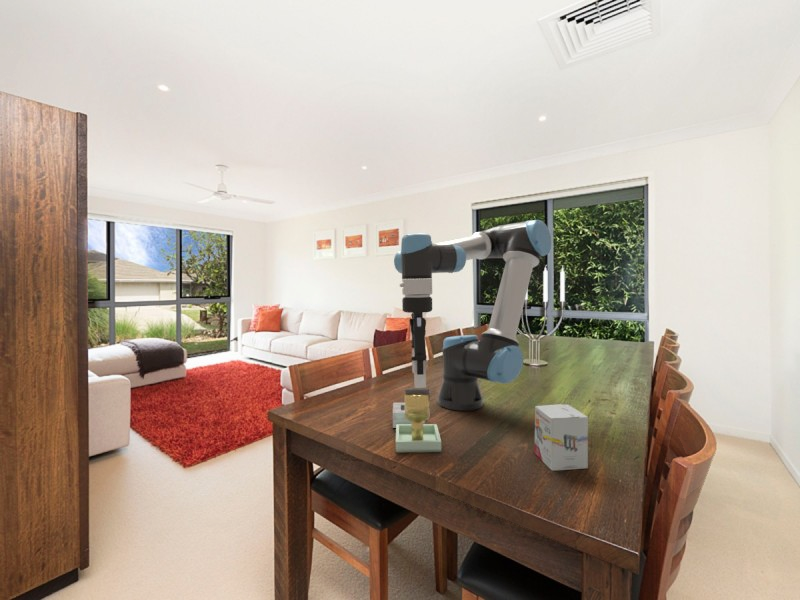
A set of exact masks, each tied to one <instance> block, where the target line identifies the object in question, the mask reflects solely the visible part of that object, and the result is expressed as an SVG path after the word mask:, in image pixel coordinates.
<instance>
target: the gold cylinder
mask: <svg viewBox="0 0 800 600" xmlns="http://www.w3.org/2000/svg"><path fill="white" fill-rule="evenodd" d="M404 389H405V390H404V403H405V418H406V419H407V420H409V421H411V429H412V440H423V421H425V422H426V421H428V420H429V419H430V417H431V415H430V414H431V407H430V405H431V403H430V402H431V400H430V398H431V397H430V395H431V393H430V388H428V387H426V388H415V387H412V388H409V387H408V388H406V387H405V388H404Z"/></svg>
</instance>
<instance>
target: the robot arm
mask: <svg viewBox="0 0 800 600" xmlns="http://www.w3.org/2000/svg"><path fill="white" fill-rule="evenodd" d="M400 244H401V245H400V249H401V250H399V251H397V252H396V254H395V256H394V258H393V265H394V268H395V270H396V271H397V272H398V273H400V274H401V282H402V283H399V287H400V288H402V295H403V296H404V297H403V298H401V299H402V311H403V312H404V313H408V314H409V313H411V315H410V316H411V318H409V327H410V333H411V361H412V362H411V369H412V372H411V373H412V374H413V377H414V378H413V379H414V382H413V383H414V385H413V386H414V387H413V388H427V372H426V371H427V370H426V369H427V368H426V367H427V366H426V365H427V363H426V359H427V353H426V351H427V350H426V332H427V331H426V327H427V320H426V318H425V317H424V315H423V313H431V312H432V310H433V298H432V296H431V295H432V294H433V274H444V273H448V274H453V273H458V272H460V271H462V270H463V269H464V267H465V266H466V263H467V261H469V260H470V261H471V260H474V259H476V260H486V259H503V260H504V262H505V265H504V269H503V273H502V276H501V280H500V283H499V287H498V291H497V296H496V299H495V302H494V306H493V309H492V313H491V317H490V321H489V324H488V328H487V330H485V331H483V332H482V333H481V336H480V338H479V337H478V335H476V334H466V335H463V334H462V335H454V336H449V337H448V336H447V337H445V338H444V339H443V343H442V345H443V346H442V382H441V385H440V387H439V391H438V393H437V394H438V395H437V405H439V406H440V405H441V406H440V407H442V406H443V407H442V408H444V407H445V409H448V410H453V411H462V412H463V411H465V412H466V411H474V410H478V409H480V408H482V407H483V406H484V398H483V394H482V390H481V388H480V385H479V379H482V380H485V381H490V382H491V383H496V384H497V383H499V384H505V385H507V384H510V383H512V382H513V381H514V380H515V379H517V378H518V376H519V375H520V373H521V372H522V369H523V366H524V357H523V356H524V353H523V350H522V349H521V348H520V347H519V346H520V342H519V340H518V338H517V332H518V328H519V325H520V322H521V321H520V320H521V316H522V313H523V308H524V304H525V299H526V297H527V293H528V288H529V285H530V280H531V275H532V271H533V268H535V267H537V266H539V263H540V262H541V261H540V260H541V257H544V256H547V255H549V253H550V251H551V248H552V237H551V233H550V229H549V228H548V226H547V224H546V223H545V222H543V221H542V220H540V219H534V220H533V219H532V220H530V219H529V220H528V219H527V220H526V221H520V222H512V223H507V224H501V225H497V226H494V227H490V228H488V229H484V230H481V231H477V232H474V233H473V234H472V235H470V236H467V237H466V236H465V237H460V238H456V239H452V240H448V241H441V242H437V243H433V241H432V237H431V235H430V234H428V233H407V234H404V235H403V236H402V238H401V243H400ZM479 339H480V340H479Z"/></svg>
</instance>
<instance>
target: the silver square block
mask: <svg viewBox="0 0 800 600" xmlns="http://www.w3.org/2000/svg"><path fill="white" fill-rule="evenodd" d="M396 424H411V421H409V420H407V419H406V418H405V402H393V403H392V429H393V428H396ZM423 424H426V421H423Z"/></svg>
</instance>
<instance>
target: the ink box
mask: <svg viewBox="0 0 800 600" xmlns="http://www.w3.org/2000/svg"><path fill="white" fill-rule="evenodd" d="M534 414H535V415H534V454H535V455H536V456H537V457H538V458H539V459H540V461H542V462H543V463H544V464H545V465H546V466H547V468H549V469H550V470H551V471H552V472H553V471H554V472H555V471H565V470H566V471H567V470H568V471H569V470H580V469H581V470H583V469H588V466H589V464H588V462H589V459H588V456H589V455H588V453H589V452H588V450H589V441H588V440H589V416H587V415H586V414H584V413H583V412H581V411H579V410H578V409H576V408H575V407H573V406H571V405H570V404H562V403H558V404H555V403H554V404H545V405H535V406H534Z"/></svg>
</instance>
